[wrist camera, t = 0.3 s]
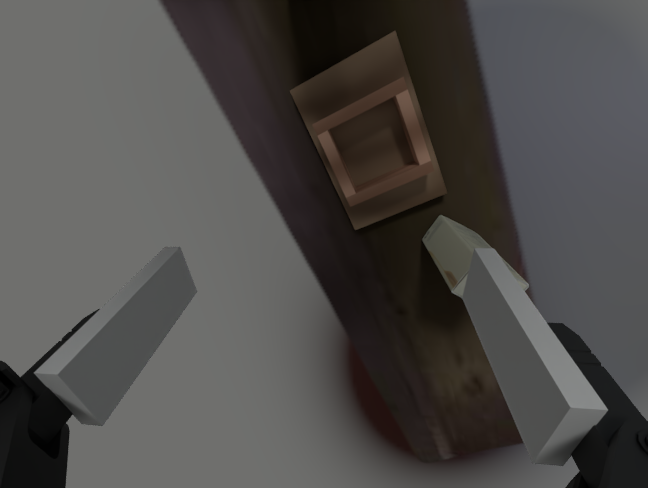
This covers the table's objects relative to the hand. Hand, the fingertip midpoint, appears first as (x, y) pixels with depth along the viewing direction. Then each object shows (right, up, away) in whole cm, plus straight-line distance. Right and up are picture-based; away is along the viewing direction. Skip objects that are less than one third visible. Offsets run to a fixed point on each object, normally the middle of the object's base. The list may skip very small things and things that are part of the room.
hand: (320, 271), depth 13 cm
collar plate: (+6, +13, +21) cm, 26 cm away
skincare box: (+17, +2, +26) cm, 31 cm away
